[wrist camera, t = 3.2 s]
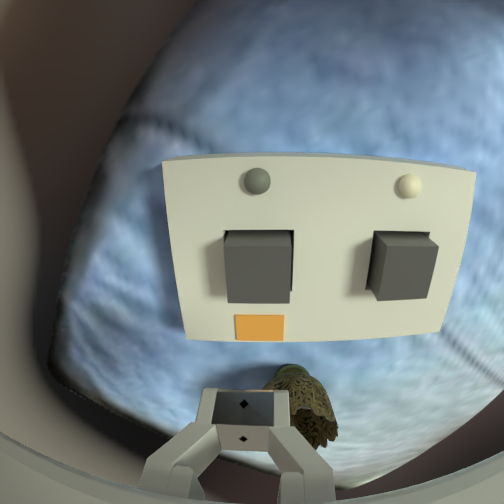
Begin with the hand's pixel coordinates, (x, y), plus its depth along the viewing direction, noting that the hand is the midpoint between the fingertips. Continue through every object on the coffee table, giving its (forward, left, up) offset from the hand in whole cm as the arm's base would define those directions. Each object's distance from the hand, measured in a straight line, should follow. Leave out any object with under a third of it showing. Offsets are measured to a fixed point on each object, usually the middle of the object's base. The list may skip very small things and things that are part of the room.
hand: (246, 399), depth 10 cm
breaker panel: (0, +5, -14) cm, 15 cm away
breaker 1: (0, 0, -13) cm, 13 cm away
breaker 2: (0, +10, -13) cm, 16 cm away
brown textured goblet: (+14, +3, -15) cm, 20 cm away
